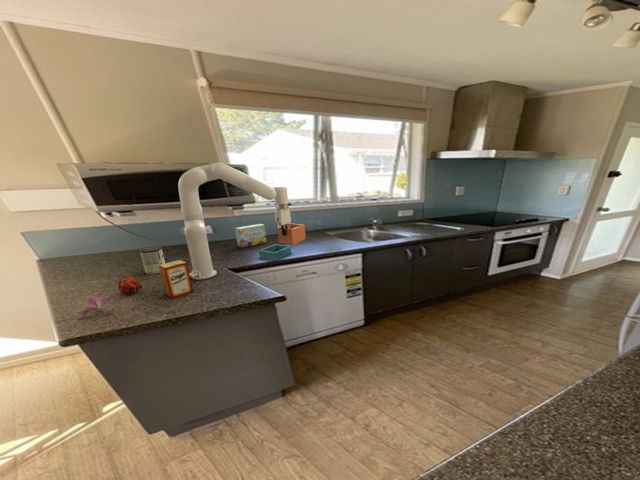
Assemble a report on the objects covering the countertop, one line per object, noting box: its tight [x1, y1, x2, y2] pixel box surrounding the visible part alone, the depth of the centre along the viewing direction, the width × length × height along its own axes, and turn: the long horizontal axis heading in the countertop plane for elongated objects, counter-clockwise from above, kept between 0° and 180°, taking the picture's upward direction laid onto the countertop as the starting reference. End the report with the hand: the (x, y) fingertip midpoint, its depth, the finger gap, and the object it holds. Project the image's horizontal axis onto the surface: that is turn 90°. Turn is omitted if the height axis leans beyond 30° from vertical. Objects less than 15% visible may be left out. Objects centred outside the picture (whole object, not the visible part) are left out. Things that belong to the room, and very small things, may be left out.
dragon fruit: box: [117, 276, 143, 296], centre depth 142 cm, size 8×8×12 cm
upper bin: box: [276, 223, 307, 245], centre depth 189 cm, size 14×11×10 cm
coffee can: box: [138, 245, 166, 275], centre depth 168 cm, size 10×10×14 cm
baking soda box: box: [159, 259, 194, 299], centre depth 140 cm, size 10×6×16 cm
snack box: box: [234, 223, 267, 249], centre depth 222 cm, size 21×6×15 cm, turn 143°
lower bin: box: [258, 243, 292, 261], centre depth 198 cm, size 16×13×6 cm
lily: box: [78, 292, 110, 320], centre depth 121 cm, size 12×12×10 cm
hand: (285, 234), depth 182 cm, fingers closed on upper bin, 1 cm apart
